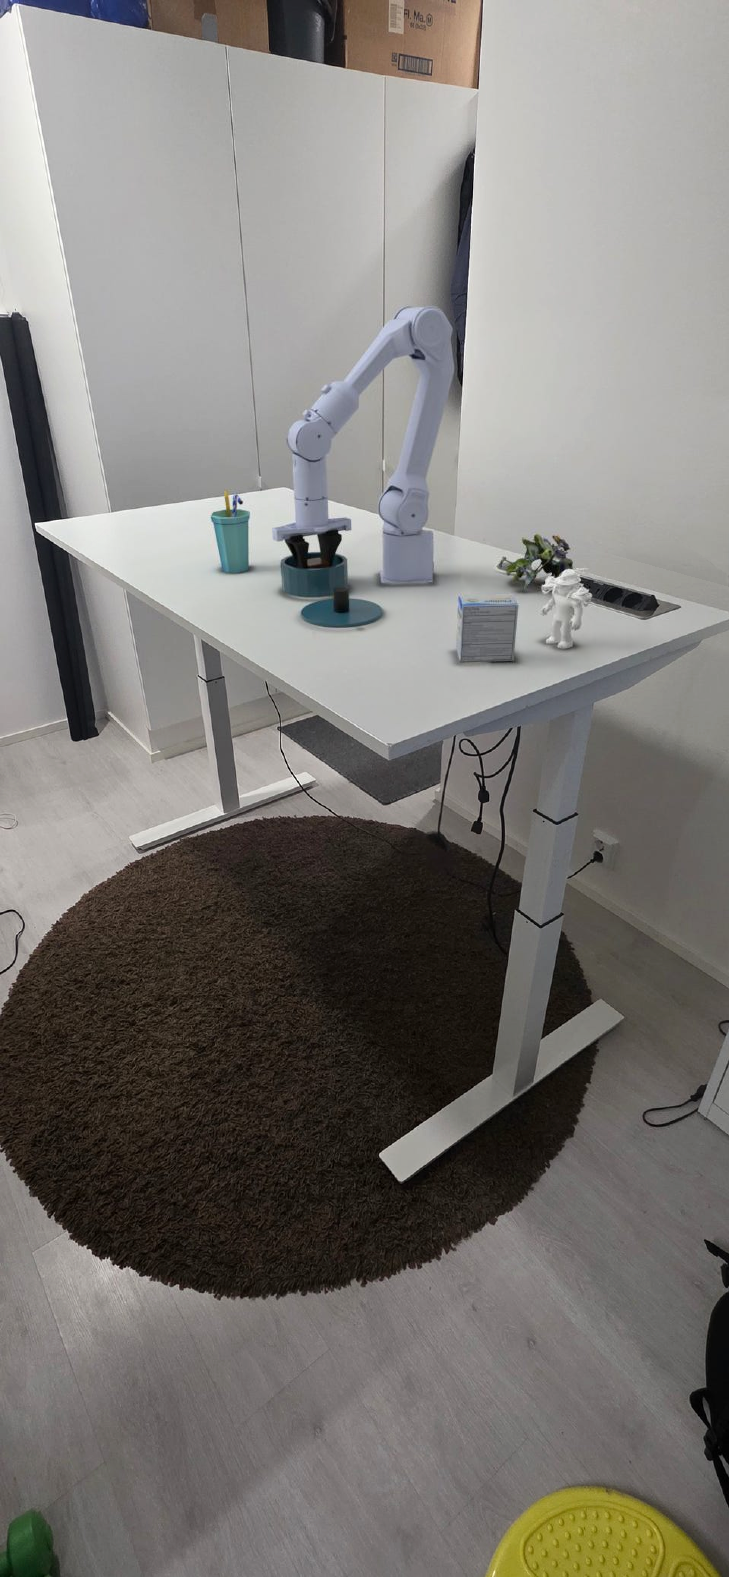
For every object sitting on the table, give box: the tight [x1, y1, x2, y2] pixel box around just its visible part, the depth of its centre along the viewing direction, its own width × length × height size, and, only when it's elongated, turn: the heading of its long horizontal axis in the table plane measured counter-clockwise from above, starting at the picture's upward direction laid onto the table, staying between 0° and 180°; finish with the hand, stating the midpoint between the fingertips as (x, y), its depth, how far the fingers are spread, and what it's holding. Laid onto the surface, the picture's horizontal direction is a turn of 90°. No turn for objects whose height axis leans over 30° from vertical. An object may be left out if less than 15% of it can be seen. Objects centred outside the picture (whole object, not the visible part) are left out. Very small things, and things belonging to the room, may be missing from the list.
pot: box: [280, 551, 349, 599], centre depth 146 cm, size 12×12×5 cm
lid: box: [300, 587, 383, 628], centre depth 133 cm, size 13×13×5 cm
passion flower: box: [498, 533, 575, 593], centre depth 144 cm, size 11×11×12 cm
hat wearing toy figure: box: [540, 566, 593, 650], centre depth 119 cm, size 9×4×12 cm, turn 30°
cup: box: [210, 490, 251, 574], centre depth 155 cm, size 14×8×15 cm, turn 25°
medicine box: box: [455, 593, 520, 664], centre depth 115 cm, size 8×4×9 cm, turn 92°
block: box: [307, 558, 329, 569], centre depth 145 cm, size 4×4×4 cm
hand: (314, 576), depth 146 cm, fingers closed on block, 4 cm apart
